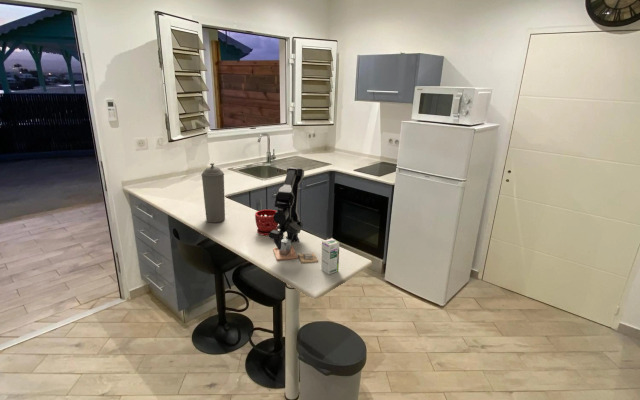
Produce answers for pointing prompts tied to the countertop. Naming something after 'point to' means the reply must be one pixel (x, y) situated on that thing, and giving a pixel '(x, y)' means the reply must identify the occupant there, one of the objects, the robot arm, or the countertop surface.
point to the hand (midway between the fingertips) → (284, 245)
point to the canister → (214, 194)
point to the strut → (285, 247)
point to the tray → (283, 257)
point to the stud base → (307, 257)
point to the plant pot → (265, 222)
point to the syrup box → (330, 256)
